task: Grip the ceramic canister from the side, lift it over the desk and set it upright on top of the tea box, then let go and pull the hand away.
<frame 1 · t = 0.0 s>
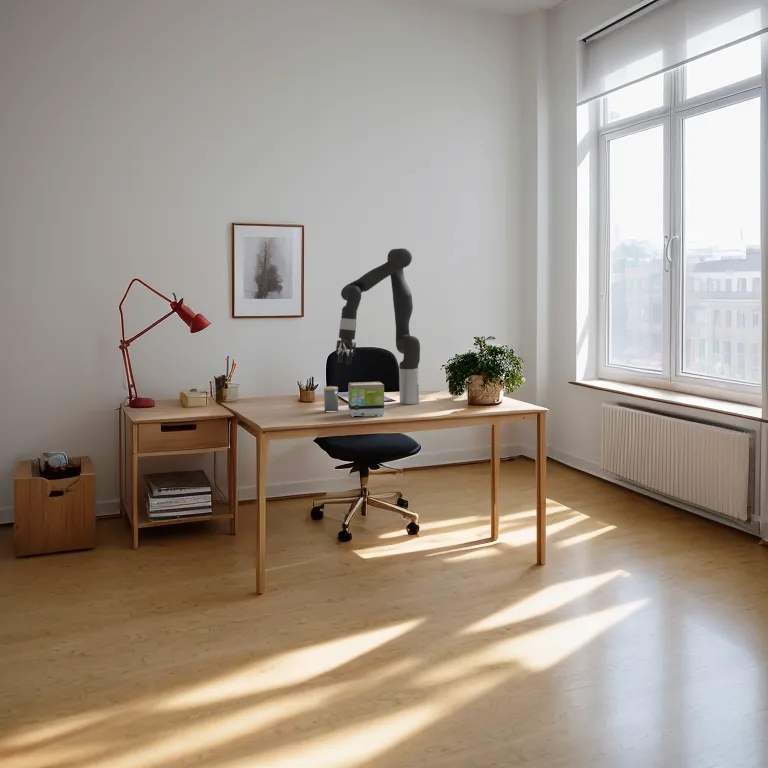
hand: (344, 363, 374), 22 cm above the table, tool pointing down, fingers open, 8 cm apart
tea box: (366, 415, 365), on the table
canister: (331, 411, 376), on the table
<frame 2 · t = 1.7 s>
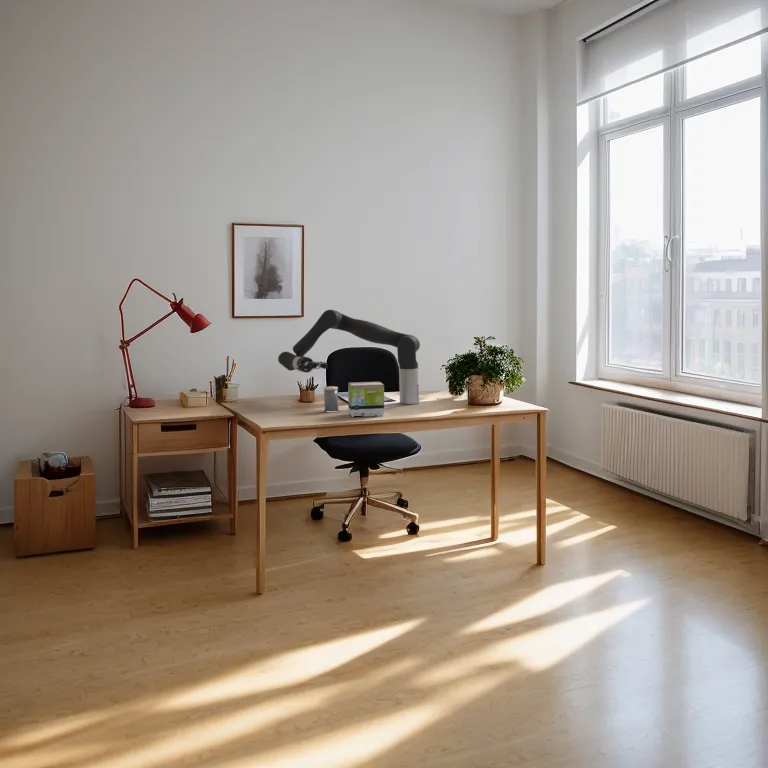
hand: (318, 367, 383), 20 cm above the table, tool horizontal, fingers open, 8 cm apart
nothing on the table moved.
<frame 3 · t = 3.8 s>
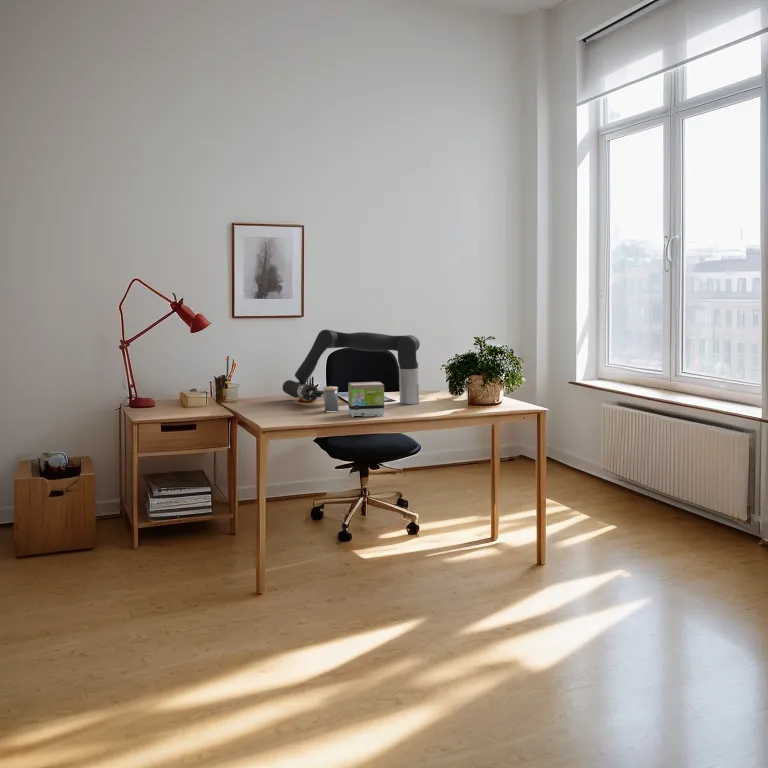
hand: (323, 396, 382), 6 cm above the table, tool horizontal, fingers open, 8 cm apart
nothing on the table moved.
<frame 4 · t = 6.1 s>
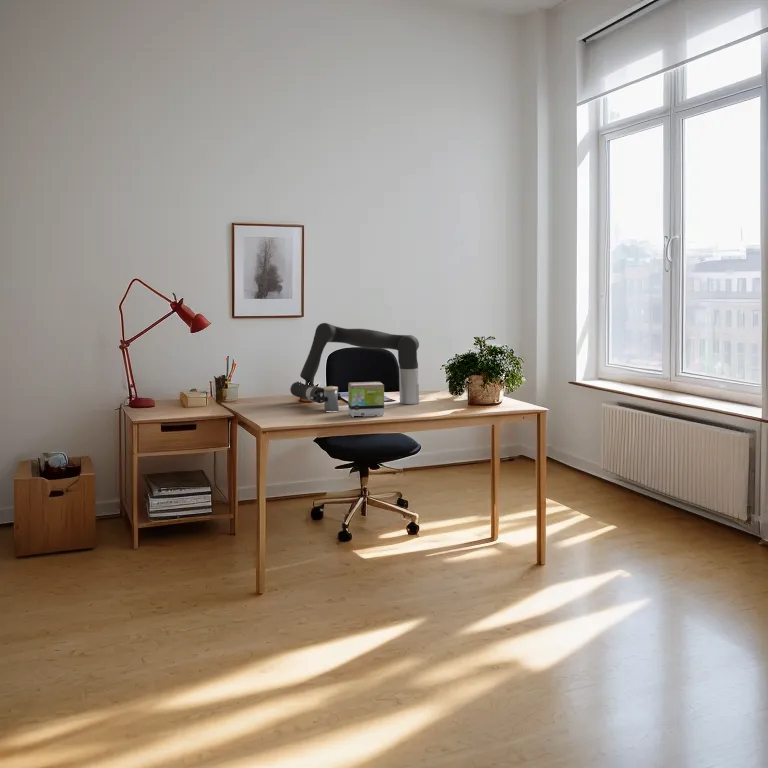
hand: (333, 398, 374), 6 cm above the table, tool horizontal, fingers closed on canister, 6 cm apart
canister: (331, 411, 376), on the table, touching gripper
everything else where it was.
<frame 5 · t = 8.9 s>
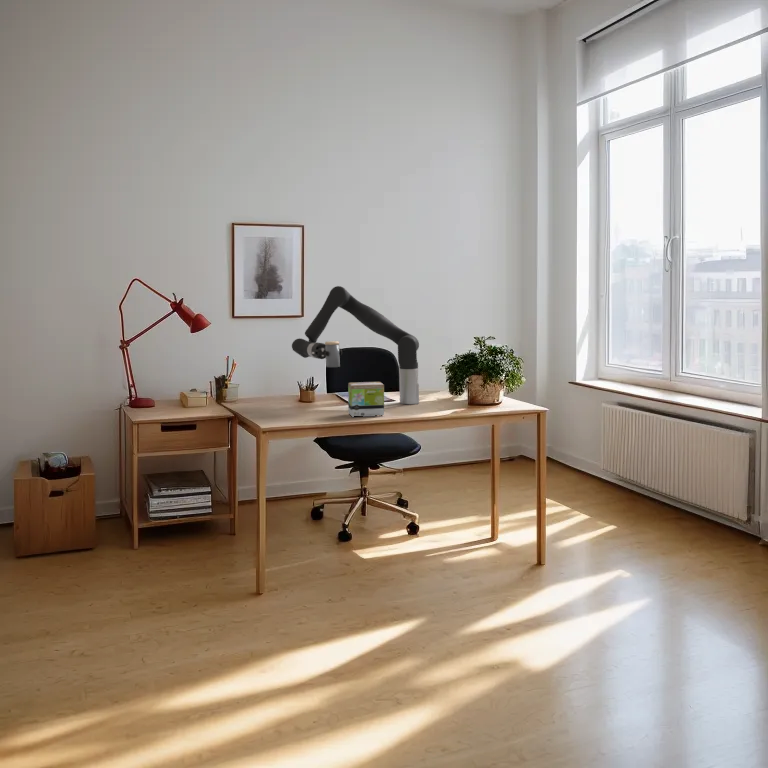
hand: (335, 353, 370), 28 cm above the table, tool horizontal, fingers closed on canister, 6 cm apart
canister: (332, 366, 373), point 21 cm above the table, touching gripper
everything else where it was.
when the fingers open (23 cm above the table, at t = 11.7 s): canister drops 2 cm, resting on tea box.
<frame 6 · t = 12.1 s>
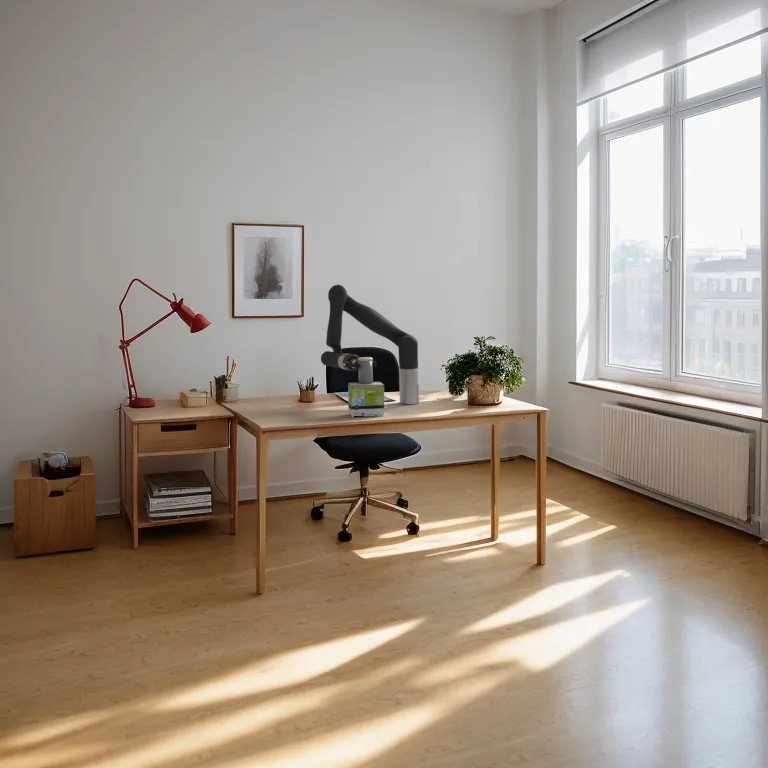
hand: (367, 365, 361), 23 cm above the table, tool horizontal, fingers open, 8 cm apart
tea box: (366, 415, 365), on the table, touching canister
canister: (365, 383, 363), point 15 cm above the table, touching tea box
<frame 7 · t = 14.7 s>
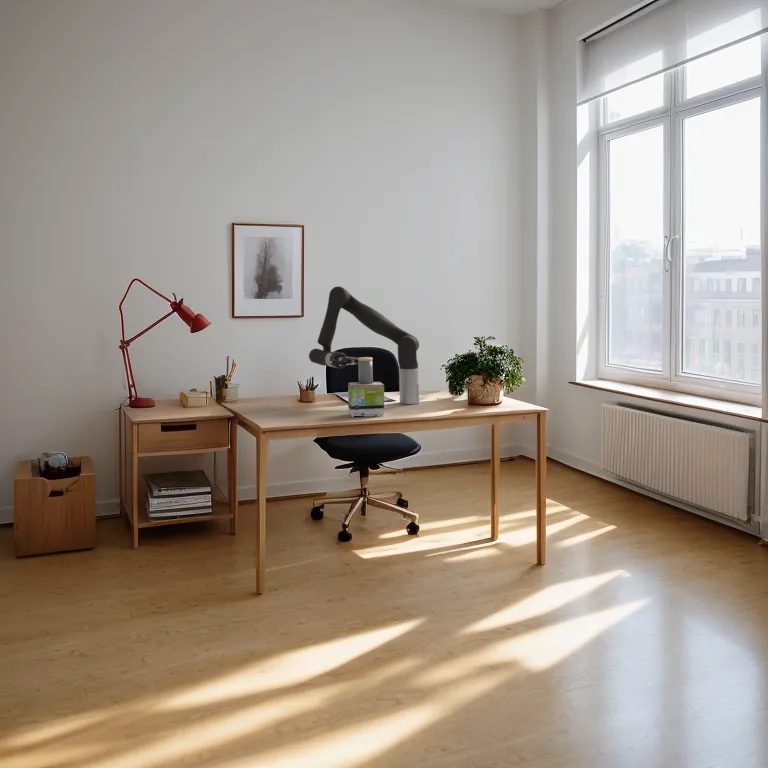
hand: (353, 362, 371), 23 cm above the table, tool horizontal, fingers open, 8 cm apart
nothing on the table moved.
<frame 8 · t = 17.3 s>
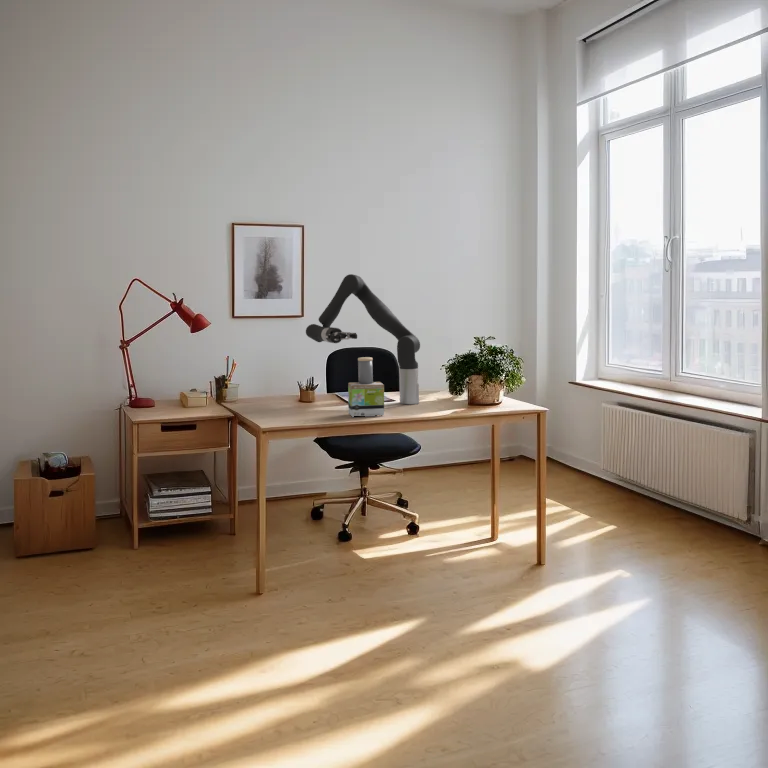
hand: (348, 337, 380), 34 cm above the table, tool horizontal, fingers open, 8 cm apart
nothing on the table moved.
at the end: canister inside the target area on the tea box (0.1 cm from its centre), point 15.0 cm above the tea box's base; canister tilted 0°; the gripper is holding nothing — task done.
